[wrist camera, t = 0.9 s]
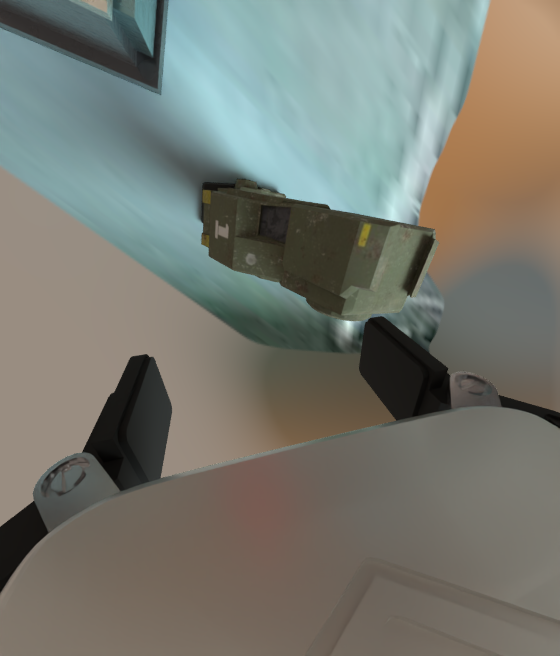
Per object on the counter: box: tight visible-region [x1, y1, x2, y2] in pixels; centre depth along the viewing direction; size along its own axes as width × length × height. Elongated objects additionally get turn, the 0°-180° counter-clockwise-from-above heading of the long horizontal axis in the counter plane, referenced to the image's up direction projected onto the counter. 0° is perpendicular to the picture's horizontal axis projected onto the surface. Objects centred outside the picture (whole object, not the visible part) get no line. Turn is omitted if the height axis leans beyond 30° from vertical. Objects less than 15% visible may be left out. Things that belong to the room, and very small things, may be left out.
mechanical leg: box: [201, 179, 439, 321], centre depth 24 cm, size 14×7×30 cm, turn 80°
